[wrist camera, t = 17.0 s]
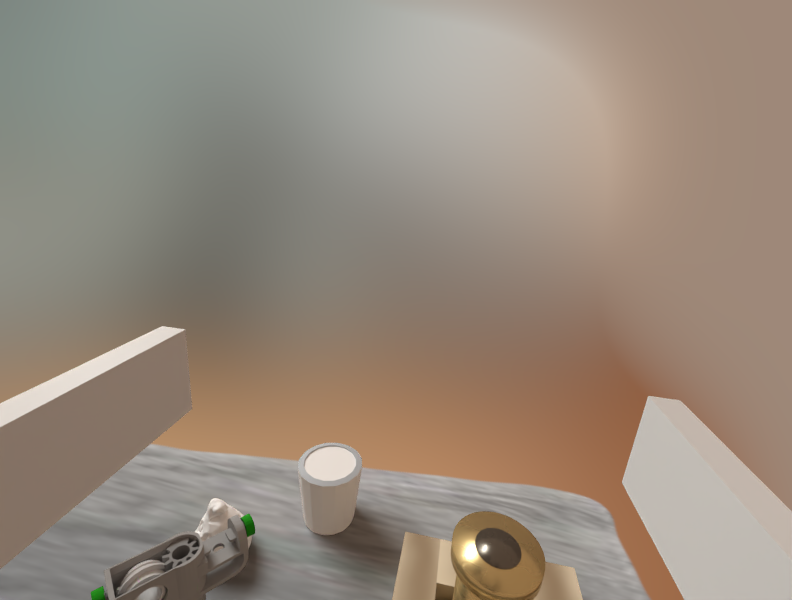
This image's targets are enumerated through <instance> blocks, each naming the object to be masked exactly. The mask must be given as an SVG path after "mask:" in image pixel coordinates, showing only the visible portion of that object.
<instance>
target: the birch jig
mask: <svg viewBox="0 0 792 600" xmlns="http://www.w3.org/2000/svg"><path fill="white" fill-rule="evenodd" d="M451 544H452V542H451V541H446V540H442V539H437V538H432V537H428V536H423V535H419V534H414V533H409V532H405V537H404V542H403V547H402V552H401V557H400V562H399V567H398V572H397V578H396V583H395V588H394V593H393V598H392V600H452V599H453V593H454V587H455V581H456V575H457V574H456V572H455V570H454V568H453V565H452V561H451ZM533 600H583V599H582V595H581V591H580V588H579V584H578V580H577V576H576V573H575V569H574V568H572V567H567V566H562V565H558V564H553V563H548V562H545V573H544V577H543V581H542V585H541V588H540V591H539V593H538V594H537V596H536V597H535V598H534V599H533Z"/></svg>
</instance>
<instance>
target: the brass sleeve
mask: <svg viewBox="0 0 792 600" xmlns="http://www.w3.org/2000/svg"><path fill="white" fill-rule="evenodd" d="M451 561H452V565H453V568H454V570H455V572H456V574H457V575H456V581H455V587H454V593H453V599H452V600H533V599H534V598H535V597H536V596H537V594H538V593H539V591H540V588H541V585H542V581H543V577H544V573H545V557H544V553H543V551H542V548H541V546H540V545H539V543H538V541H537V540H536V538H535V537H534V536H533V535H532V533H531V532H530V531H529V530H528V529H526V528H525V527H524V526H523V525H522V524H520V523H519V522H517V521H515V520H514V519H512V518H510V517H508V516H505V515H502V514H499V513H495V512H485V511H484V512H475V513H472V514H469V515H467V516H465V517H464V518H462V519H461V520H460V521H459V522H458V524H457V525H456V527H455V529H454V532H453V538H452V544H451Z"/></svg>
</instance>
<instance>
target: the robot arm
mask: <svg viewBox="0 0 792 600" xmlns="http://www.w3.org/2000/svg"><path fill="white" fill-rule="evenodd" d="M191 409H192V401H191V390H190V378H189V367H188V356H187V344H186V332H185V329H178V328H171V327H164V326H162V327H160V328H158V329H156V330H153V331H151V332H149V333H147V334H145V335H143V336H141V337H139V338H137V339H134V340H133V341H130V342H128V343H126V344H124V345H122V346H120V347H118V348H116V349H114V350H111V351H109V352H107V353H105V354H103V355H101V356H99V357H97V358H95V359H93V360H90V361H88V362H86V363H84V364H82V365H80V366H78V367H76V368H74V369H72V370H70V371H67V372H66V373H63V374H61V375H59V376H57V377H55V378H53V379H51V380H49V381H46V382H44V383H42V384H41V385H38V386H36V387H34V388H32V389H30V390H28V391H25V392H23V393H21V394H19V395H17V396H15V397H13V398H11V399H9V400H7V401H4V402H2V403H0V569H1V568H2V567H3V566H4V565H6V564H7V563H8V562H9V561H10V560H12V559H13V558H14V557H15V556H16V555H18V554H19V553H20V552H21V551H22V550H24V549H25V548H26V547H27V546H28V545H30V544H31V543H32V542H33V541H34V540H36V539H37V538H38V537H39V536H40V535H42V534H43V533H44V532H45V531H46V530H48V529H49V528H50V527H51V526H52V525H54V524H55V523H56V522H57V521H58V520H60V519H61V518H62V517H63V516H64V515H66V514H67V513H68V512H69V511H70V510H72V509H73V508H74V507H75V506H76V505H78V504H79V503H80V502H81V501H82V500H84V499H85V498H86V497H87V496H88V495H89V494H91V493H92V492H93V491H94V490H95V489H97V488H98V487H99V486H100V485H101V484H103V483H104V482H105V481H106V480H107V479H109V478H110V477H111V476H112V475H113V474H115V473H116V472H117V471H118V470H119V469H121V468H122V467H123V466H124V465H125V464H127V463H128V462H129V461H130V460H131V459H133V458H134V457H135V456H136V455H137V454H139V453H140V452H141V451H142V450H143V449H145V448H146V447H147V446H148V445H149V444H151V443H152V442H153V441H154V440H155V439H157V438H158V437H159V436H160V435H161V434H162V433H163V432H165V431H166V430H167V429H168V428H170V427H171V426H172V425H173V424H174V423H176V422H177V421H178V420H179V419H181V418H182V417H183V416H184V415H185V414H186V413H188V412H189V411H190V410H191ZM622 484H623V485H624V487H625V489H626V491H627V492H628V495H629V497H630V498H631V500H632V502H633V504H634V506H635V508H636V510H637V512H638V514H639V515H640V517H641V519H642V521H643V523H644V525H645V527H646V529H647V530H648V532H649V534H650V536H651V538H652V540H653V542H654V544H655V546H656V547H657V549H658V551H659V553H660V555H661V557H662V559H663V561H664V562H665V564H666V566H667V568H668V570H669V572H670V574H671V575H672V577H673V579H674V581H675V583H676V585H677V587H678V588H679V591H680V592H681V594H682V596H683V598H684V600H792V512H791V510H790V509H788V507H787V506H786V505H785V504H784V503H783V502H781V500H780V499H779V498H778V497H777V496H776V495H775V494H774V493H773V492H771V490H770V489H769V488H767V486H766V485H765V484H764V483H762V482H761V481H760V479H759V478H757V477H756V476H755V475H754V474H753V473H752V472H751V470H749V469H748V468H747V467H746V466H745V465H744V464H743V463H742V462H741V461H740V460H739V459H738V458H737V457H736V456H735V455H734V454H733V453H732V452H731V451H730V450H729V449H728V448H727V447H726V446H725V445H724V444H723V443H722V442H721V441H720V440H719V439H718V438H717V437H716V436H715V435H714V434H713V433H712V432H711V431H710V430H709V429H708V428H707V427H706V426H705V425H704V424H703V423H702V422H701V421H700V420H699V419H698V418H697V417H696V416H695V415H694V414H693V413H692V412H691V411H690V410H689V409H688V408H687V407H686V406H685V405H684V404H683V403H682V402H681V401H680V400H674V399H667V398H660V397H652V396H648V399H647V402H646V405H645V409H644V412H643V415H642V418H641V422H640V425H639V428H638V432H637V435H636V438H635V441H634V445H633V448H632V451H631V454H630V458H629V461H628V464H627V468H626V471H625V474H624V478H623V481H622Z"/></svg>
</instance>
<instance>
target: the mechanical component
mask: <svg viewBox="0 0 792 600" xmlns="http://www.w3.org/2000/svg"><path fill="white" fill-rule="evenodd" d="M227 523H228V529H226V530H224V531H222V532H220V533H218V534H216V535H214V536H213V537H211V538H209V539H207V540H205V541H203V542H202V540H201V537H200V535H199V534H198V533H196V532H191V531H190V532H182V533H179V534H176V535H174V536H172V537H171V538H169V539H168V540H167V541H165V542H163V543H161V544H159V545H157V546H154V547H152V548H150V549H148V550H146V551H144V552H142V553H140V554H138V555H136V556H133V557H131V558H129V559H127V560H125V561H123V562H121V563H119V564H117V565H115V566H112V567H110V568H108V569H106V570H104V575H105V581H106V587H107V590H106V591H104V589H103V586H102V587H100V588H98V589H96V590H94V591H92V592H91V597H92V600H205V599H206V594H205V593H207V592H209V591H210V590H212V589H214V588H215V587H217V586H219V585H221V584H222V583H224V582H226V581H227V580H229V579H231V578H232V577H234V576H236V575H237V574H238V573H239V572H240V571H241V570H242V569H243V568H244V567H245V565H246V564H247V561H248V557H249V555H248V539H247V537H249V536H251V535H253V534H255V526H254V522H253V520H252V517H251V516H250V514H247V515H245V516H243V517H241V518H240V517H239V516H238V515H235V516H233V517H231V518H229V519H228V522H227ZM219 546H223V547H224V548H222V549H220V550H218V551H217V552H213V551H214V549H215V548H217V547H219ZM151 559H152V560H151ZM145 560H149V561H145ZM143 561H145V562H143ZM140 562H143V563H141V564H139V565H137V564H138V563H140ZM135 565H137V566H136V567H134V566H135ZM132 567H134V568H133V569H132V570H130V569H131V568H132ZM129 570H130V571H129ZM128 571H129V572H128ZM125 575H126V576H125Z"/></svg>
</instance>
